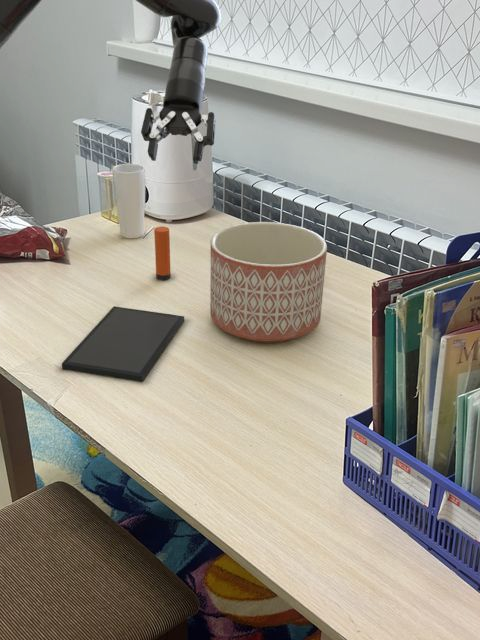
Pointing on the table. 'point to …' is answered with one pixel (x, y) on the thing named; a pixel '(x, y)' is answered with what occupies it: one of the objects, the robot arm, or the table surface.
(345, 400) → the table surface
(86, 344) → the tablet
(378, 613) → the table surface
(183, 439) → the table surface
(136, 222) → the drinking glass
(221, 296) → the planter
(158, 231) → the orange peg
